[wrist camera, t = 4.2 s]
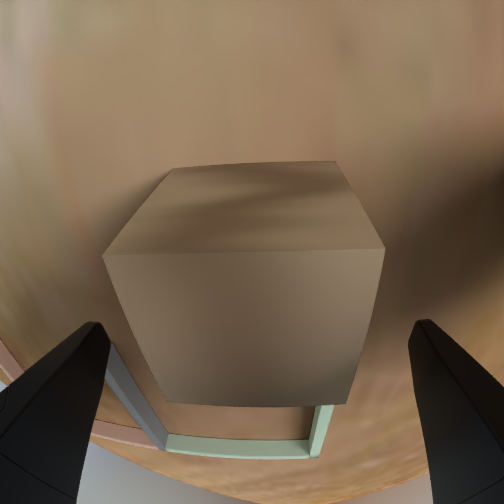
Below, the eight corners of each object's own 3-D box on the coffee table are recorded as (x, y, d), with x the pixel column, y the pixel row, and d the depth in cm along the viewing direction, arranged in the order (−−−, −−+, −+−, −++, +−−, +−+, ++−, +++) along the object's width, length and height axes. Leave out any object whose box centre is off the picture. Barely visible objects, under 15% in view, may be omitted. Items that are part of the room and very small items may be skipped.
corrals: (339, 347, 16) (343, 370, 15) (317, 442, 24) (318, 457, 22) (-15, 322, 19) (-24, 334, 17) (55, 411, 26) (50, 422, 25)
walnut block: (334, 160, 11) (385, 248, 6) (326, 289, 14) (345, 403, 9) (173, 167, 11) (101, 255, 6) (197, 291, 15) (166, 401, 10)
